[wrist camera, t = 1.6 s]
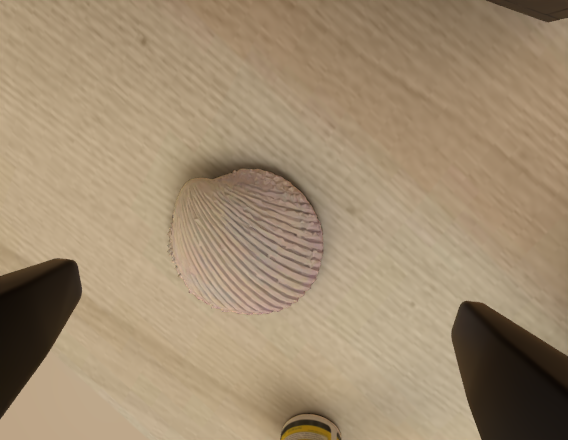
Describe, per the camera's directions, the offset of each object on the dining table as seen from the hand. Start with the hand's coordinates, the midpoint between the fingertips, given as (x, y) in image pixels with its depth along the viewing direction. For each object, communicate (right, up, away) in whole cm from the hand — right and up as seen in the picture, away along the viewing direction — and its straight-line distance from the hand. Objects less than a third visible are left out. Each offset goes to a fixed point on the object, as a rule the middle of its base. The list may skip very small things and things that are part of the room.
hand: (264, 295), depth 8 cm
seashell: (-2, 0, +15) cm, 15 cm away
